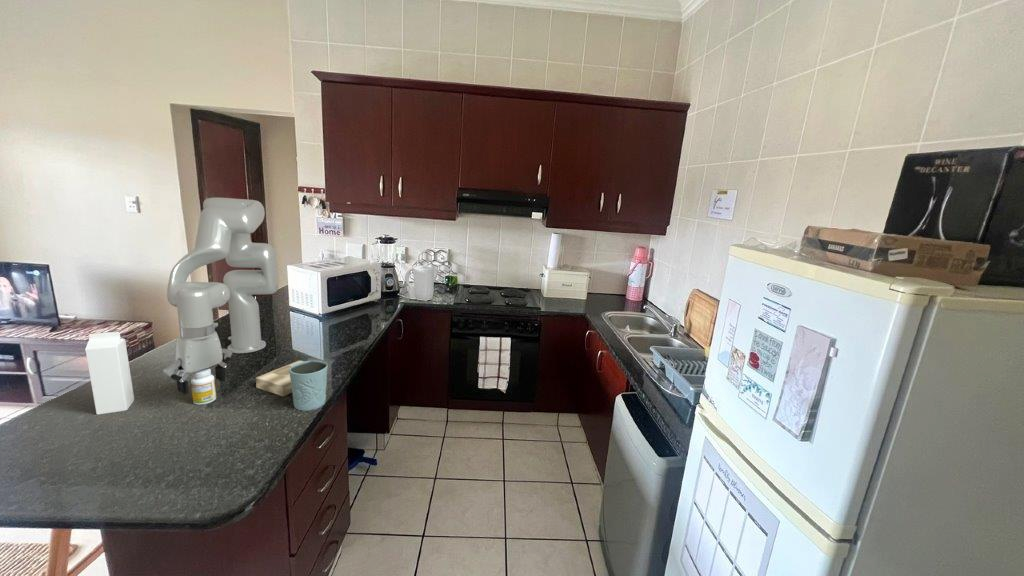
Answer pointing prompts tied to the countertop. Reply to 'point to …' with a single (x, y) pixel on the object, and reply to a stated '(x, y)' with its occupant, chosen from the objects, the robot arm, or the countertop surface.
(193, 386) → the supplement bottle
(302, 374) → the embossed blue-green cup
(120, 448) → the countertop surface
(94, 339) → the milk
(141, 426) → the countertop surface
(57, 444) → the countertop surface
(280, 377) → the socket block
